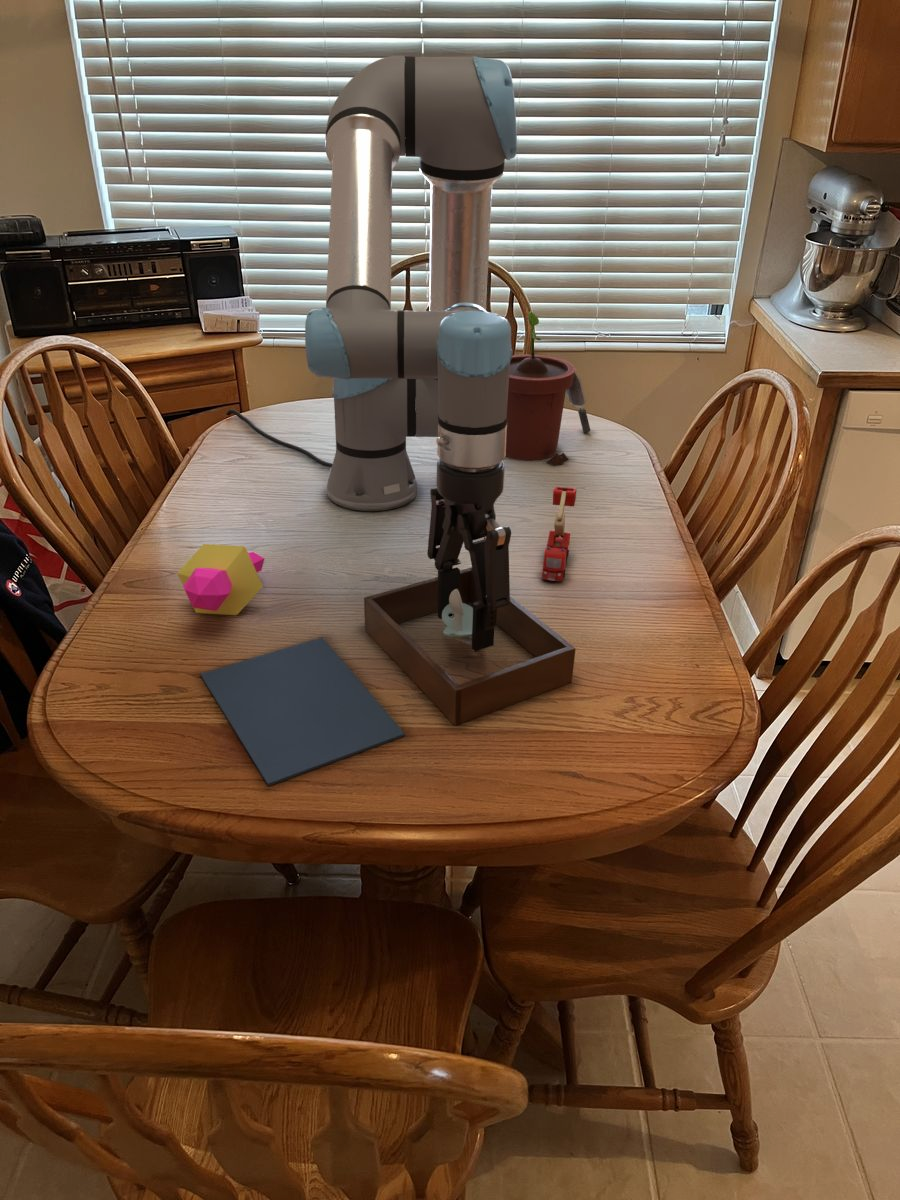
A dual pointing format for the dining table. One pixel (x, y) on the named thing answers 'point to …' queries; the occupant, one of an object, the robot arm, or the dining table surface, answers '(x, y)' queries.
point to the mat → (299, 709)
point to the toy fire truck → (558, 547)
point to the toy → (221, 578)
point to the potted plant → (540, 403)
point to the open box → (482, 692)
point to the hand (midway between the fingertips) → (465, 630)
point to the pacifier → (458, 619)
